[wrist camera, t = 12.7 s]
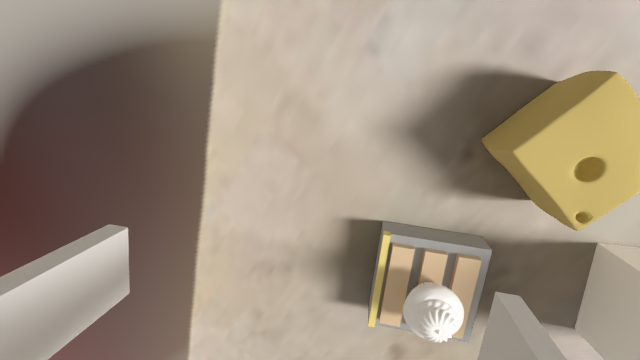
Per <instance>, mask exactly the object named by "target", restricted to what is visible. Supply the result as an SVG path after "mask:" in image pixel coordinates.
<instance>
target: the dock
mask: <svg viewBox="0 0 640 360" xmlns="http://www.w3.org/2000/svg"><path fill="white" fill-rule="evenodd" d="M491 254H492V249H491V248H490V247H489V245H488V244H487V243H486V241H485V240H484V239H483V237H482V236H475V235H469V234H463V233H456V232H450V231H444V230H437V229H431V228H425V227H418V226H412V225H406V224H399V223H393V222H387V221H383V222H382V228H381V234H380V240H379V246H378V252H377V258H376V264H375V270H374V276H373V282H372V288H371V294H370V299H369V309H368V326H369V327H374V328H375V325H380V326H385V327H390V328H395V329H400V330H406V331H411V329H410V328H409V327H408V325H407V324H406V321H405V319H404V315H403V306H404V302H405V300H406V298H407V296H408V295H409V293H410V292H411V290H412V289H414V288H415V287H416V286H418V285H419V284H421V283H424V282H434V283H438V284H441V285H442V286H446V287H447V288H448V289H450V290H451V291H453V292H454V293H455V294H456V295H457V297H458V298H459V299H460V301H461V303H462V305H463V309H464V319H463V323H462V325H461V327H460V328H459V330H458V331H457V332H456V333H454V334H453V335H451V336H452V338H447V339H453V340H458V341H463V342H468V343H469V340H470V337H471V333H472V329H473V325H474V321H475V317H476V313H477V309H478V305H479V301H480V297H481V293H482V289H483V285H484V282H485V278H486V274H487V270H488V266H489V262H490V258H491ZM411 332H412V331H411Z"/></svg>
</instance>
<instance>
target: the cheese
mask: <svg viewBox="0 0 640 360" xmlns="http://www.w3.org/2000/svg"><path fill="white" fill-rule="evenodd" d="M481 140H482V142H483V144H484V146H485V147H486V149H487V150H488V151H489V152H490V154H491V155H492V156H493V157H494V158H495V159H496V160H497V161H498V162H500V163H501V164H502V165H503V166H504V167H505V168H506V169H507V171H508V172H509V173H510V174H511V175H512V176H513V177H514V179H515V180H516V181H517V182H518V184H519V185H520V186H521V187H522V189H523V190H524V191H525V193H526V194H527V195H528V196H529V198H530V199H531V200H532V201H533V202H534V203H535V204H536V205H537V206H538V207H539V208H541V209H542V210H543V211H545V212H546V213H548V214H549V215H551V216H553V217H554V218H556V219H557V220H559V221H560V222H561V223H563V224H564V225H566V226H568V227H570V228H572V229H574V230H576V231H578V230H580V229H582V228H584V227H585V226H587V225H589V224H590V223H592V222H594V221H595V220H597V219H598V218H600V217H601V216H603V215H605V214H607V213H608V212H610V211H611V210H613V209H614V208H616V207H617V206H619V205H620V204H622V203H623V202H625V201H626V200H628V199H630V198H631V197H633V196H634V195H636V194H637V193H639V192H640V100H639V98H638V97H637V95H636V93H635V92H634V90H633V89H632V88H631V86H630V85H629V84H628V83H627V81H626V80H625V79H624V78H623V77H622V76H621V75H620V74H619V73H617V72H611V71H590V72H585V73H581V74H578V75H576V76H573V77H571V78H568V79H566V80H563V81H559V82H557V83H555V84H554V85H552V86H551V87H550V88H548V89H547V90H545V91H544V92H543V93H541V94H540V95H539V96H537V97H536V98H534V99H533V100H532V101H530V102H529V103H528V104H526V105H525V106H524V107H522V108H521V109H520V110H518V111H517V112H516V113H514V114H513V115H512V116H511V117H509V118H508V119H507V120H506V121H504V122H503V123H502V124H501V125H499V126H498V127H497V128H495V129H494V130H493V131H491V132H490V133H488V134H487V135H486V136H484V137H483V138H482V139H481Z"/></svg>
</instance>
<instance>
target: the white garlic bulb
mask: <svg viewBox="0 0 640 360" xmlns="http://www.w3.org/2000/svg"><path fill="white" fill-rule="evenodd" d="M403 315H404V319H405V321H406V324H407V325H408V327H409V328H410V329H411V331H412V332H414V333H415V334H416V335H418V336H420V337H422V338H424V339H427V340H430V341H431V342H438V343H441V342H442V341H445V342H446V341H447V338H452V336H451V335H453V334H454V333H456V332H457V331H458V330H459V328H460V327H461V325H462V323H463V319H464V309H463V305H462V303H461V301H460V299H459V298H458V297H457V295H456V294H455V293H454V292H453V291H451V290H450V289H448V288H447V287H446V286H442V285H441V284H438V283H434V282H424V283H421V284H419V285H418V286H416V287H415V288H414V289H412V290H411V292H410V293H409V295H408V296H407V298H406V300H405V302H404V306H403Z"/></svg>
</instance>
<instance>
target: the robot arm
mask: <svg viewBox="0 0 640 360" xmlns="http://www.w3.org/2000/svg"><path fill="white" fill-rule="evenodd" d="M128 252H129V251H128V228H127V227H121V226H116V225H110V224H109V225H107V226H105V227H103V228H101V229H99V230H96V231H94V232H93V233H90V234H88V235H86V236H84V237H82V238H80V239H78V240H76V241H74V242H72V243H70V244H68V245H66V246H64V247H62V248H59V249H57V250H55V251H53V252H51V253H49V254H47V255H45V256H43V257H41V258H39V259H37V260H35V261H33V262H31V263H29V264H27V265H25V266H22V267H20V268H18V269H16V270H14V271H12V272H10V273H8V274H6V275H4V276H2V277H0V360H47V359H49V358H50V357H51V356H52V355H54V354H55V353H56V352H57V351H59V350H60V349H61V348H62V347H63V346H65V345H66V344H67V343H69V342H70V341H71V340H72V339H73V338H75V337H76V336H77V335H78V334H80V333H81V332H82V331H83V330H85V329H86V328H87V327H88V326H90V325H91V324H92V323H93V322H95V321H96V320H97V319H98V318H99V317H101V316H102V315H103V314H104V313H105V312H107V311H108V310H109V309H111V308H112V307H113V306H114V305H116V304H117V303H118V302H119V301H121V300H122V299H123V298H124V297H125V296H127V295H128V294H129V256H128V255H129V253H128ZM478 360H566V358H565V357H564V356H563V354H562V353H561V351H560V350H559V349H558V347H557V346H556V345H555V343H554V342H553V340H552V339H551V338H550V336H549V335H548V334H547V332H546V331H545V329H544V328H543V327H542V325H541V324H540V323H539V321H538V320H537V319H536V317H535V316H534V314H533V313H532V312H531V310H530V309H529V308H528V306H527V305H526V303H525V302H524V301H523V299H522V298H521V297H520V296H518V295H512V294H506V293H501V292H495V296H494V299H493V303H492V307H491V311H490V315H489V318H488V322H487V326H486V330H485V333H484V337H483V341H482V345H481V349H480V352H479V356H478Z"/></svg>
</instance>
